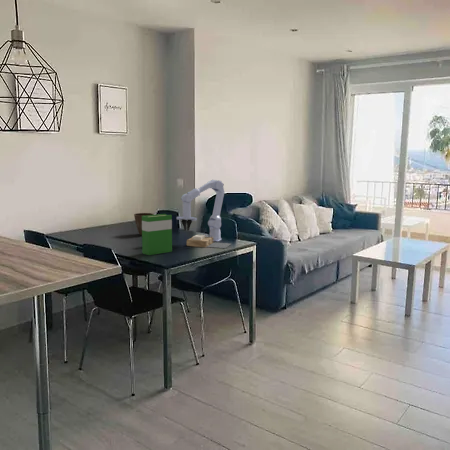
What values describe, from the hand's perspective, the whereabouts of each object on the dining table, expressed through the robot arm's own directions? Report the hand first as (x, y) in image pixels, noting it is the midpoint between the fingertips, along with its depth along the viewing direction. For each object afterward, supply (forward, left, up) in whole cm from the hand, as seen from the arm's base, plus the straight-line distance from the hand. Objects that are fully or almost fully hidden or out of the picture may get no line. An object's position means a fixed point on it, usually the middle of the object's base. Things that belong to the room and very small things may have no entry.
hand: (186, 230), depth 333 cm
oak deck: (0, +10, -9) cm, 14 cm away
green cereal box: (+34, -7, -10) cm, 36 cm away
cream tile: (0, +9, -4) cm, 10 cm away
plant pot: (-22, -44, -10) cm, 50 cm away
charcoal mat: (0, +24, -9) cm, 26 cm away
